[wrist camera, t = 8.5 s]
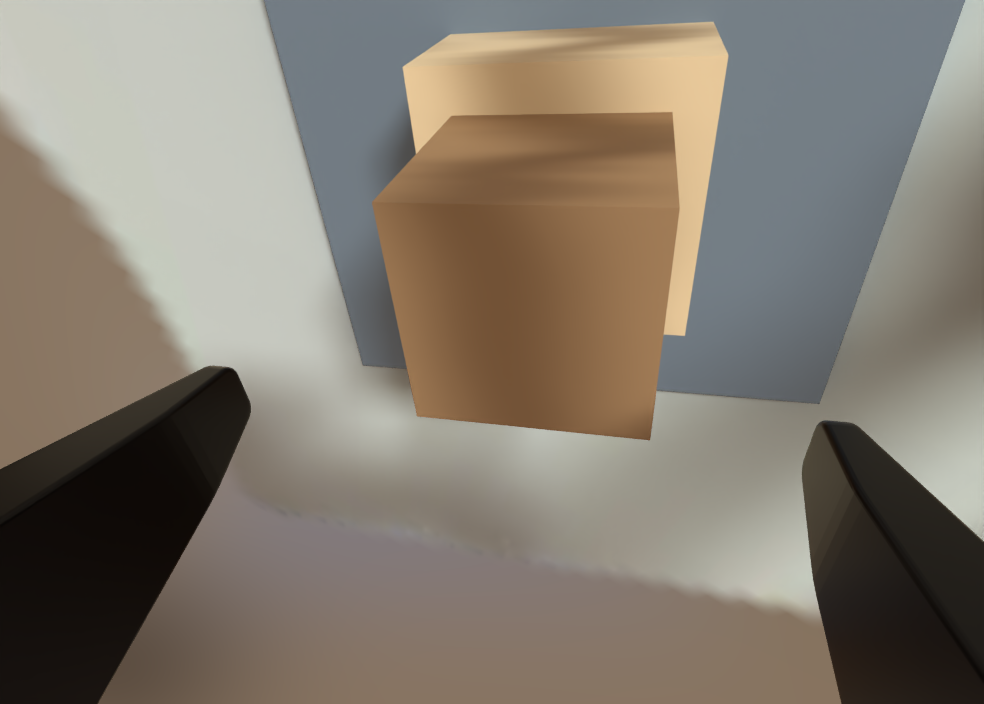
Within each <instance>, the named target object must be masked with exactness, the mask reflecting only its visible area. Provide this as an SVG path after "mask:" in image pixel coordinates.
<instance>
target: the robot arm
mask: <svg viewBox="0 0 984 704" xmlns="http://www.w3.org/2000/svg"><path fill="white" fill-rule="evenodd" d="M250 413H251V405H250V401H249V399H248V396H247V394H246V392H245V390H244V387H243V385H242V383H241V381H240V378H239V376H238V374H237V372H236V371H235V370H234V369H232V368H230V367H222V366H207V367H205V368H203V369H201V370H199V371H197V372H195V373H192V374H190V375H188V376H186V377H184V378H182V379H180V380H178V381H176V382H174V383H172V384H170V385H169V386H167V387H165V388H162V389H161V390H158V391H156V392H154V393H152V394H150V395H148V396H146V397H144V398H142V399H140V400H138V401H136V402H134V403H132V404H130V405H128V406H126V407H124V408H122V409H120V410H118V411H116V412H114V413H112V414H110V415H108V416H106V417H104V418H102V419H100V420H98V421H96V422H94V423H92V424H90V425H88V426H86V427H84V428H82V429H80V430H78V431H76V432H74V433H72V434H70V435H68V436H66V437H64V438H62V439H60V440H58V441H56V442H54V443H52V444H50V445H48V446H46V447H44V448H42V449H40V450H38V451H36V452H34V453H32V454H30V455H28V456H26V457H24V458H22V459H20V460H18V461H16V462H14V463H12V464H10V465H8V466H6V467H4V468H2V469H0V704H98V703H99V701H100V699H101V698H102V696H103V694H104V692H105V691H106V689H107V687H108V685H109V683H110V682H111V680H112V678H113V676H114V674H115V673H116V671H117V669H118V667H119V666H120V664H121V662H122V660H123V659H124V657H125V655H126V653H127V652H128V650H129V648H130V646H131V644H132V643H133V641H134V639H135V637H136V635H137V634H138V632H139V630H140V628H141V627H142V625H143V623H144V621H145V620H146V618H147V616H148V614H149V612H150V611H151V609H152V607H153V605H154V603H155V602H156V600H157V598H158V596H159V594H160V593H161V591H162V589H163V587H164V586H165V584H166V582H167V580H168V579H169V577H170V575H171V573H172V571H173V569H174V568H175V566H176V564H177V563H178V561H179V559H180V557H181V555H182V553H183V552H184V550H185V548H186V546H187V545H188V543H189V541H190V539H191V538H192V536H193V534H194V532H195V530H196V529H197V527H198V525H199V523H200V522H201V520H202V518H203V516H204V514H205V513H206V511H207V509H208V507H209V506H210V504H211V502H212V500H213V498H214V496H215V494H216V492H217V490H218V488H219V486H220V484H221V481H222V479H223V477H224V475H225V472H226V470H227V468H228V465H229V463H230V461H231V459H232V456H233V454H234V452H235V449H236V447H237V445H238V443H239V440H240V438H241V436H242V433H243V431H244V429H245V426H246V424H247V422H248V420H249V417H250ZM802 482H803V492H804V501H805V510H806V520H807V529H808V539H809V548H810V558H811V567H812V574H813V581H814V586H815V591H816V596H817V601H818V605H819V609H820V614H821V618H822V622H823V626H824V630H825V635H826V639H827V643H828V647H829V652H830V656H831V660H832V664H833V669H834V673H835V678H836V681H837V686H838V690H839V695H840V699H841V703H842V704H984V541H983V540H982V539H980V538H979V537H978V536H977V535H976V534H975V533H974V532H973V531H972V530H971V529H970V528H968V527H967V526H966V525H965V524H964V523H963V522H962V521H961V520H960V519H959V518H958V517H956V516H955V515H954V514H953V513H952V512H951V511H950V510H949V509H948V508H947V507H946V506H945V505H943V504H942V503H941V502H940V501H939V500H938V499H937V498H936V497H935V496H934V495H933V494H931V493H930V492H929V491H928V490H927V489H926V488H925V487H924V486H923V485H922V484H921V483H919V482H918V481H917V480H916V479H915V478H914V477H913V476H912V475H911V474H910V473H909V472H907V471H906V470H905V469H904V468H903V467H902V466H901V465H900V464H899V463H898V462H897V461H895V460H894V459H893V458H892V457H891V456H890V455H889V454H888V453H887V452H886V451H885V450H883V449H882V448H881V447H880V446H879V445H878V444H877V443H876V442H875V441H874V440H873V439H871V438H870V437H869V436H868V435H867V434H866V433H865V432H864V431H863V430H862V429H861V428H859V427H858V426H857V425H855V424H853V423H849V422H838V421H822V422H820V423H819V424H818V425H817V426H816V429H815V431H814V434H813V437H812V439H811V442H810V445H809V447H808V450H807V453H806V456H805V458H804V461H803V466H802Z"/></svg>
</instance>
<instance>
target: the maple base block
mask: <svg viewBox="0 0 984 704" xmlns="http://www.w3.org/2000/svg"><path fill="white" fill-rule="evenodd" d="M727 62H728V53H727V51H726V49H725V46H724V44H723V42H722V40H721V37H720V35H719V33H718V31H717V28H716V26H715V24H714V22H696V23H675V24H654V25H634V26H613V27H592V28H571V29H551V30H530V31H509V32H488V33H468V34H450V35H449V36H447V37H446V38H444V39H443V40H441V41H440V42H438V43H437V44H435V45H434V46H432V47H431V48H430V49H428V50H427V51H425V52H424V53H422V54H421V55H419V56H418V57H416V58H415V59H413V60H412V61H411V62H409V63H408V64H406V65H405V66H403V73H404V80H405V86H406V93H407V99H408V105H409V112H410V118H411V125H412V131H413V138H414V144H415V150H416V154H417V153H418V151H419V150H420V149H421V148H422V147H423V146H424V145H425V144H426V143H427V142H428V141H429V140H430V138H431V137H432V136H433V135H434V134H435V133H436V132H437V131H438V130H439V129H440V128H441V127H442V125H443V124H444V123H445V122H446V121H447V120H448V119H449V118H450V117H451V116H460V115H523V114H586V113H650V112H673V125H674V138H675V151H676V165H677V178H678V191H679V204H680V210H679V218H678V226H677V234H676V241H675V249H674V257H673V265H672V273H671V280H670V288H669V296H668V304H667V312H666V319H665V327H664V335H679V336H685V332H686V325H687V319H688V312H689V306H690V299H691V293H692V287H693V280H694V274H695V267H696V261H697V254H698V248H699V242H700V235H701V229H702V222H703V216H704V210H705V203H706V197H707V190H708V184H709V177H710V171H711V165H712V158H713V152H714V145H715V139H716V132H717V126H718V120H719V113H720V107H721V100H722V94H723V88H724V81H725V75H726V68H727Z"/></svg>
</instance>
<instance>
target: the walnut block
mask: <svg viewBox="0 0 984 704" xmlns="http://www.w3.org/2000/svg"><path fill="white" fill-rule="evenodd" d="M372 206H373V210H374V215H375V220H376V225H377V229H378V234H379V239H380V243H381V248H382V253H383V258H384V262H385V267H386V272H387V276H388V281H389V286H390V291H391V295H392V300H393V305H394V309H395V314H396V319H397V324H398V328H399V333H400V338H401V342H402V347H403V352H404V357H405V361H406V366H407V371H408V375H409V380H410V385H411V390H412V394H413V399H414V404H415V408H416V413H417V416H420V417H430V418H440V419H449V420H459V421H469V422H478V423H488V424H498V425H507V426H517V427H527V428H536V429H546V430H556V431H566V432H575V433H585V434H595V435H604V436H614V437H624V438H633V439H643V440H650V436H651V428H652V421H653V413H654V405H655V397H656V389H657V382H658V374H659V366H660V358H661V350H662V343H663V335H664V327H665V319H666V312H667V304H668V296H669V288H670V280H671V273H672V265H673V257H674V249H675V241H676V234H677V226H678V218H679V210H680V204H679V191H678V178H677V165H676V151H675V138H674V125H673V112H650V113H586V114H523V115H460V116H451V117H450V118H449V119H448V120H447V121H446V122H445V123H444V124H443V125H442V127H441V128H440V129H439V130H438V131H437V132H436V133H435V134H434V135H433V136H432V137H431V138H430V140H429V141H428V142H427V143H426V144H425V145H424V146H423V147H422V148H421V149H420V150H419V151H418V153H417V154H416V155H415V156H414V157H413V158H412V159H411V160H410V161H409V162H408V163H407V165H406V166H405V167H404V168H403V169H402V170H401V171H400V172H399V173H398V174H397V175H396V176H395V178H394V179H393V180H392V181H391V182H390V183H389V184H388V185H387V186H386V187H385V188H384V190H383V191H382V192H381V193H380V194H379V195H378V196H377V197H376V198H375V199H374V200H373V201H372Z"/></svg>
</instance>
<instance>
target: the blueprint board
mask: <svg viewBox="0 0 984 704" xmlns="http://www.w3.org/2000/svg"><path fill="white" fill-rule="evenodd" d="M264 2H265V6H266V9H267V13H268V17H269V20H270V24H271V28H272V31H273V35H274V39H275V42H276V46H277V50H278V54H279V57H280V61H281V65H282V68H283V72H284V76H285V79H286V83H287V87H288V90H289V94H290V98H291V102H292V105H293V109H294V113H295V116H296V120H297V124H298V127H299V131H300V135H301V138H302V142H303V146H304V149H305V153H306V157H307V161H308V164H309V168H310V172H311V175H312V179H313V183H314V186H315V190H316V194H317V197H318V201H319V205H320V209H321V212H322V216H323V220H324V223H325V227H326V231H327V234H328V238H329V242H330V245H331V249H332V253H333V257H334V260H335V264H336V268H337V271H338V275H339V279H340V282H341V286H342V290H343V293H344V297H345V301H346V305H347V308H348V312H349V316H350V319H351V323H352V327H353V330H354V334H355V338H356V341H357V345H358V349H359V353H360V356H361V360H362V364H363V365H366V366H378V367H389V368H401V369H407V366H406V361H405V357H404V352H403V347H402V342H401V338H400V333H399V328H398V324H397V319H396V314H395V309H394V305H393V300H392V295H391V291H390V286H389V281H388V276H387V272H386V267H385V262H384V258H383V253H382V248H381V243H380V239H379V234H378V229H377V225H376V220H375V215H374V210H373V206H372V201H373V200H374V199H375V198H376V197H377V196H378V195H379V194H380V193H381V192H382V191H383V190H384V188H385V187H386V186H387V185H388V184H389V183H390V182H391V181H392V180H393V179H394V178H395V176H396V175H397V174H398V173H399V172H400V171H401V170H402V169H403V168H404V167H405V166H406V165H407V163H408V162H409V161H410V160H411V159H412V158H413V157H414V156H415V155H416V150H415V144H414V138H413V131H412V125H411V118H410V112H409V105H408V99H407V93H406V86H405V80H404V73H403V66H405V65H406V64H408V63H409V62H411V61H412V60H413V59H415V58H416V57H418V56H419V55H421V54H422V53H424V52H425V51H427V50H428V49H430V48H431V47H432V46H434V45H435V44H437V43H438V42H440V41H441V40H443V39H444V38H446V37H447V36H449V35H450V34H468V33H488V32H509V31H530V30H551V29H571V28H592V27H613V26H634V25H654V24H675V23H696V22H714V24H715V26H716V28H717V31H718V33H719V35H720V37H721V40H722V42H723V44H724V46H725V49H726V51H727V53H728V62H727V68H726V75H725V81H724V88H723V94H722V100H721V107H720V113H719V120H718V126H717V132H716V139H715V145H714V152H713V158H712V165H711V171H710V177H709V184H708V190H707V197H706V203H705V210H704V216H703V222H702V229H701V235H700V242H699V248H698V254H697V261H696V267H695V274H694V280H693V287H692V293H691V299H690V306H689V312H688V319H687V325H686V332H685V336H679V335H663V343H662V350H661V358H660V366H659V374H658V382H657V389H656V390H661V391H673V392H685V393H697V394H709V395H721V396H732V397H744V398H756V399H768V400H780V401H791V402H803V403H815V404H819V403H820V401H821V398H822V395H823V392H824V390H825V387H826V384H827V381H828V378H829V376H830V373H831V370H832V367H833V365H834V362H835V359H836V356H837V354H838V351H839V348H840V345H841V343H842V340H843V337H844V334H845V331H846V329H847V326H848V323H849V320H850V318H851V315H852V312H853V309H854V307H855V304H856V301H857V298H858V295H859V293H860V290H861V287H862V284H863V282H864V279H865V276H866V273H867V271H868V268H869V265H870V262H871V260H872V257H873V254H874V251H875V248H876V246H877V243H878V240H879V237H880V235H881V232H882V229H883V226H884V224H885V221H886V218H887V215H888V212H889V210H890V207H891V204H892V201H893V199H894V196H895V193H896V190H897V188H898V185H899V182H900V179H901V176H902V174H903V171H904V168H905V165H906V163H907V160H908V157H909V154H910V152H911V149H912V146H913V143H914V141H915V138H916V135H917V132H918V129H919V127H920V124H921V121H922V118H923V116H924V113H925V110H926V107H927V105H928V102H929V99H930V96H931V93H932V91H933V88H934V85H935V82H936V80H937V77H938V74H939V71H940V69H941V66H942V63H943V60H944V58H945V55H946V52H947V49H948V46H949V44H950V41H951V38H952V35H953V33H954V30H955V27H956V24H957V22H958V19H959V16H960V13H961V10H962V8H963V5H964V2H965V0H264Z"/></svg>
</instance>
